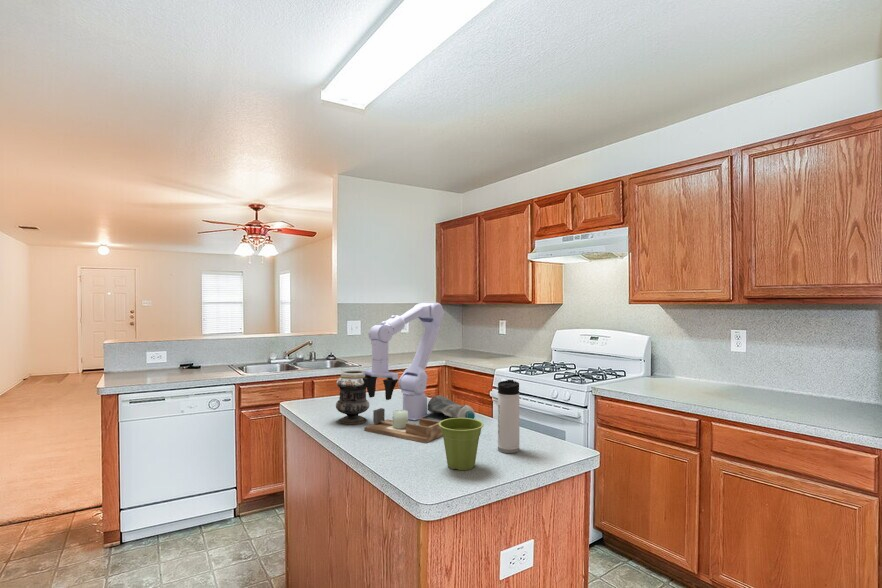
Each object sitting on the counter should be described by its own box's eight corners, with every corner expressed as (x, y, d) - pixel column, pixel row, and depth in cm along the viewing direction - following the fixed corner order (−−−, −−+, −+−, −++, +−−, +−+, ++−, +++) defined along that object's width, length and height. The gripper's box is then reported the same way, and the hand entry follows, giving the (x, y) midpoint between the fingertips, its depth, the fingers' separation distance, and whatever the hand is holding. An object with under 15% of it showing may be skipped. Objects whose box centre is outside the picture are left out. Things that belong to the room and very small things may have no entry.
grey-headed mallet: (381, 420, 163) (381, 406, 163) (410, 426, 156) (410, 411, 156) (372, 423, 159) (372, 409, 159) (401, 429, 152) (401, 414, 152)
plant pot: (429, 466, 123) (429, 423, 123) (460, 455, 131) (460, 415, 131) (462, 478, 114) (462, 432, 114) (492, 466, 123) (492, 423, 123)
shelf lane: (387, 422, 166) (387, 410, 166) (446, 433, 152) (446, 420, 152) (364, 430, 156) (364, 418, 156) (425, 443, 142) (425, 429, 142)
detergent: (422, 413, 180) (453, 427, 158) (423, 394, 180) (454, 406, 158) (451, 412, 186) (486, 426, 164) (453, 394, 186) (487, 405, 164)
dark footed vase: (366, 425, 162) (366, 373, 162) (332, 425, 162) (332, 373, 162) (372, 416, 174) (372, 368, 174) (339, 416, 174) (340, 368, 175)
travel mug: (521, 447, 138) (521, 380, 138) (517, 454, 132) (517, 383, 132) (500, 445, 140) (500, 379, 140) (495, 452, 134) (495, 382, 134)
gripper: (356, 359, 163) (356, 397, 163) (389, 362, 155) (388, 402, 155) (370, 357, 169) (370, 394, 169) (401, 359, 161) (401, 399, 161)
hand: (380, 398), depth 163 cm, fingers open, 7 cm apart
